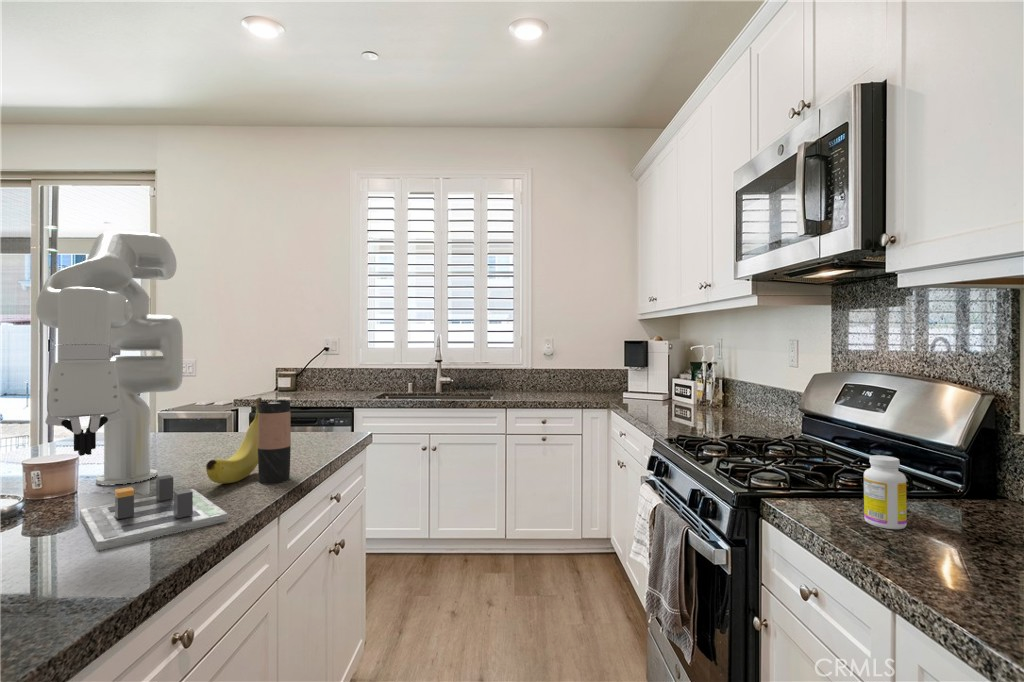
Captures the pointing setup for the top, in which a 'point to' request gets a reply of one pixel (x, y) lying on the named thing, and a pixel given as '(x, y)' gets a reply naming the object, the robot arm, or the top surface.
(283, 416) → the travel mug
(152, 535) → the panel
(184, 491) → the breaker near
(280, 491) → the top surface
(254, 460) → the banana
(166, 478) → the block
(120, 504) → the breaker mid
